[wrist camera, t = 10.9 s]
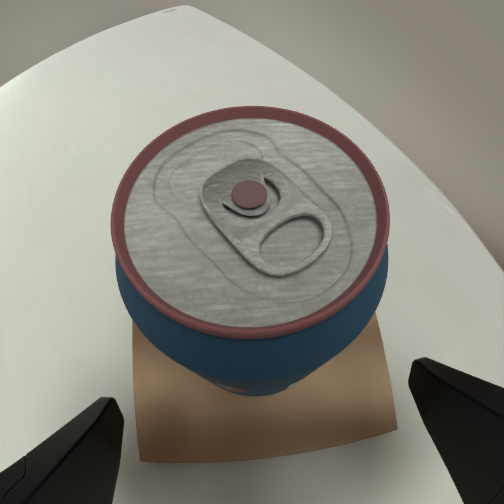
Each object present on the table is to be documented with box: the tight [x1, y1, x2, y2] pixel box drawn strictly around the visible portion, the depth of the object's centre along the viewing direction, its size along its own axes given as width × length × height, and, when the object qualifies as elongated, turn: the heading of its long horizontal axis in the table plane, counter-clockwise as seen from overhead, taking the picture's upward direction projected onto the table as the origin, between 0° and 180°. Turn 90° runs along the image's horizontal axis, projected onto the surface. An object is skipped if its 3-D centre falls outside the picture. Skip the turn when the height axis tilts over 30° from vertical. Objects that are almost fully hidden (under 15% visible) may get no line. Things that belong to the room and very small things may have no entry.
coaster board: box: [133, 312, 397, 463], centre depth 17 cm, size 14×14×1 cm
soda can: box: [111, 106, 390, 396], centre depth 11 cm, size 7×7×12 cm
